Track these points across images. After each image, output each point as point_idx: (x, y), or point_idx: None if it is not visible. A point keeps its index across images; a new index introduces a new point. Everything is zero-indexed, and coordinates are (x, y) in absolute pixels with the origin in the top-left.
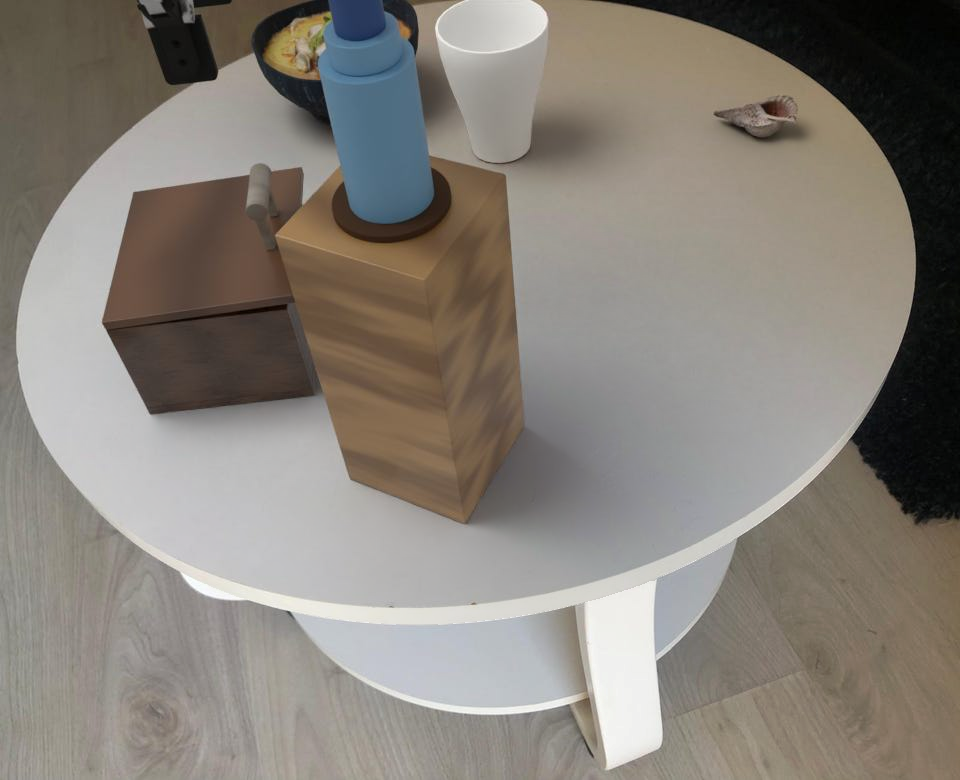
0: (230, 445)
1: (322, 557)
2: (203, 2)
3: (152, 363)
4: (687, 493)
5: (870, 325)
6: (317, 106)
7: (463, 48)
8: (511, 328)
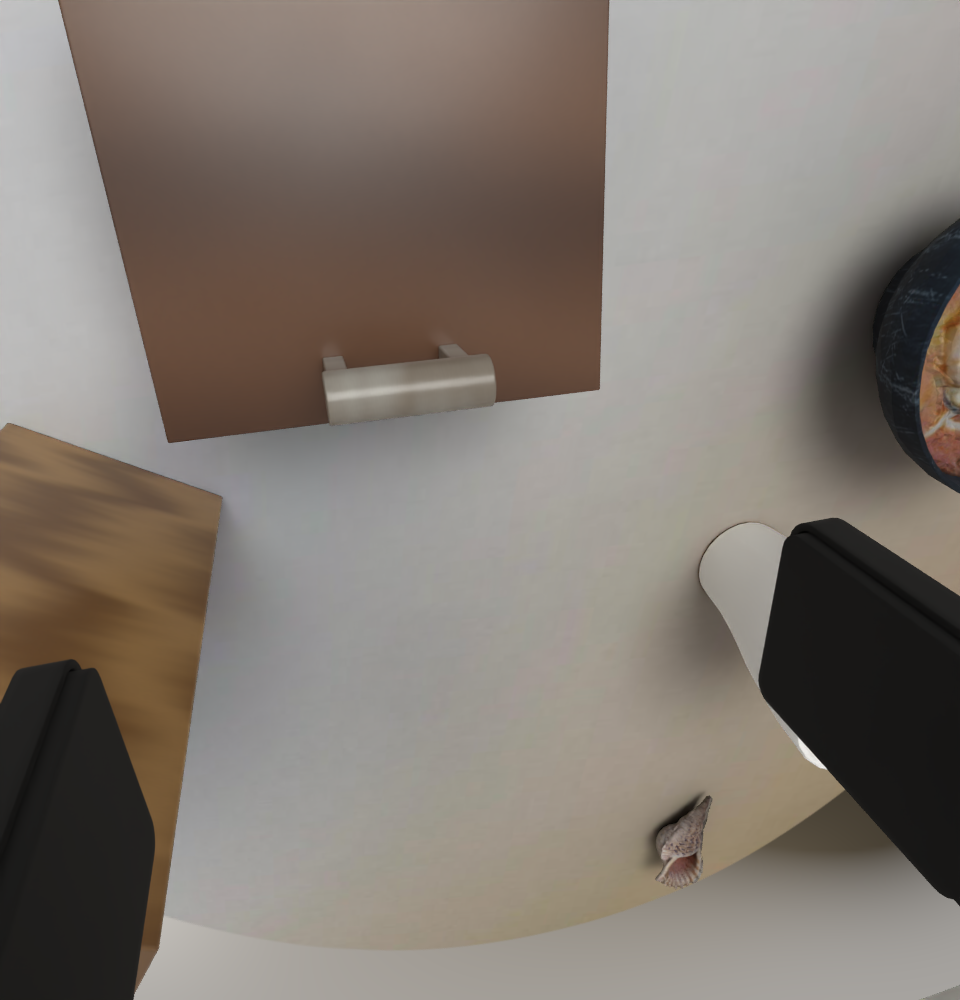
0: (53, 192)
1: None
2: (784, 607)
3: None
4: None
5: (338, 931)
6: (899, 297)
7: None
8: None
